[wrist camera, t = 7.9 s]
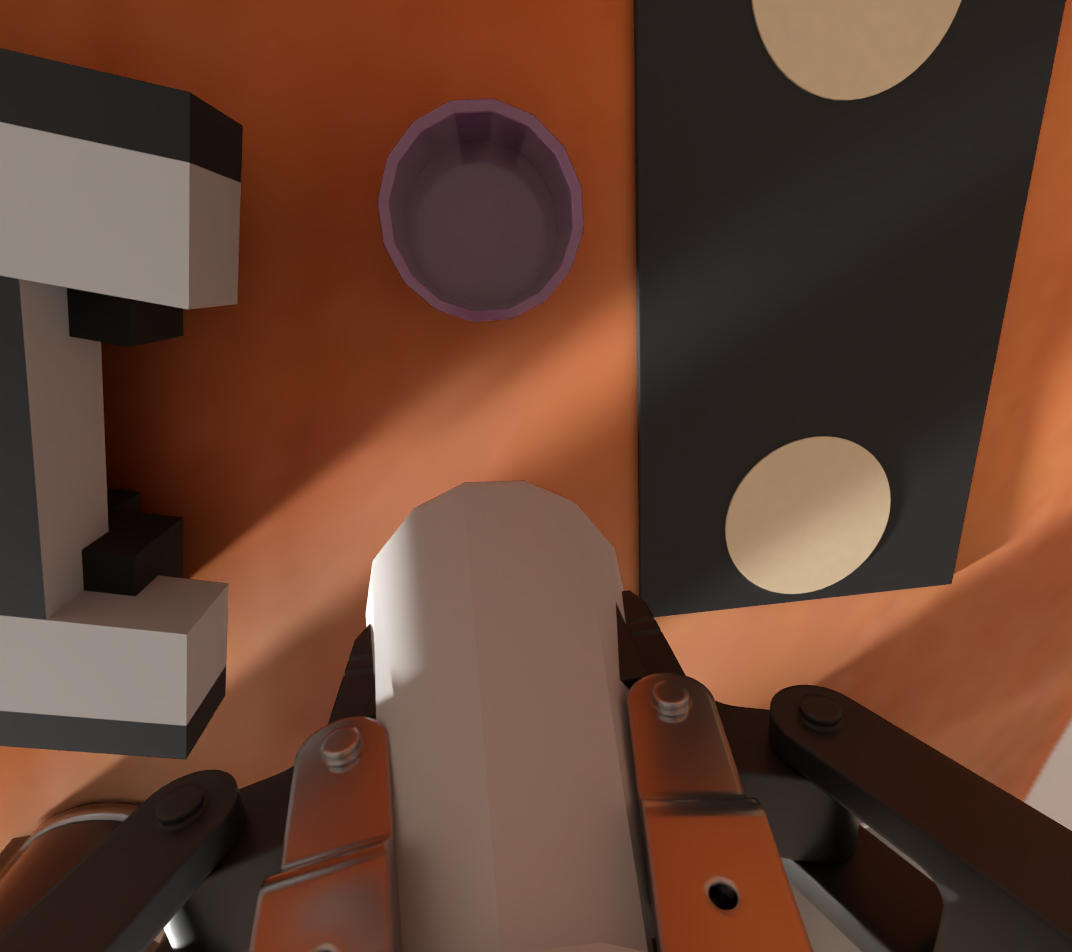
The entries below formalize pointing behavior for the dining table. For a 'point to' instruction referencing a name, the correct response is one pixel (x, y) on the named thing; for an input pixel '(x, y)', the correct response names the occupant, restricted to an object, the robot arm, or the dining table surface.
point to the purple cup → (480, 209)
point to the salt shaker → (507, 727)
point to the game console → (101, 403)
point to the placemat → (822, 283)
